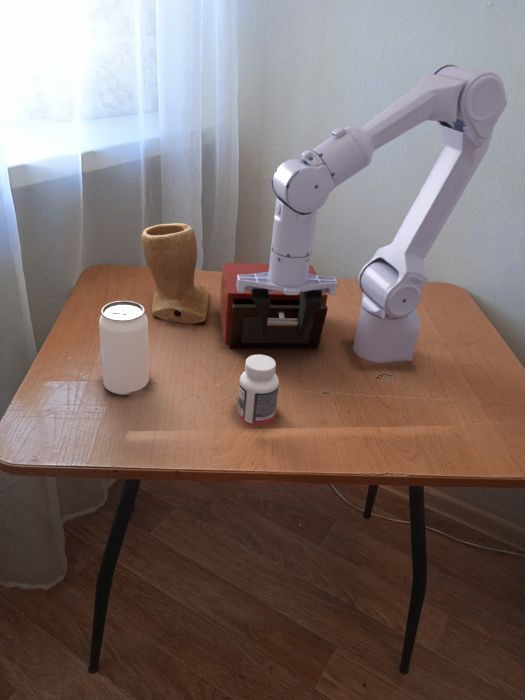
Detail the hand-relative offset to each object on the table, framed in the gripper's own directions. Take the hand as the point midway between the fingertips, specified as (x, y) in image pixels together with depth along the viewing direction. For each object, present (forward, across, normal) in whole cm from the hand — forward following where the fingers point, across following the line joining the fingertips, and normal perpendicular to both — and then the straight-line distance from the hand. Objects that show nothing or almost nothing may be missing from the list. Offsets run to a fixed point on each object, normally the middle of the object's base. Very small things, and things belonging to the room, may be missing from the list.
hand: (280, 333), depth 86 cm
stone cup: (+6, -16, +19) cm, 26 cm away
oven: (+6, 0, +11) cm, 13 cm away
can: (+6, -23, -5) cm, 24 cm away
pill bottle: (+6, -5, -13) cm, 15 cm away
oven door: (+6, 0, +3) cm, 6 cm away
